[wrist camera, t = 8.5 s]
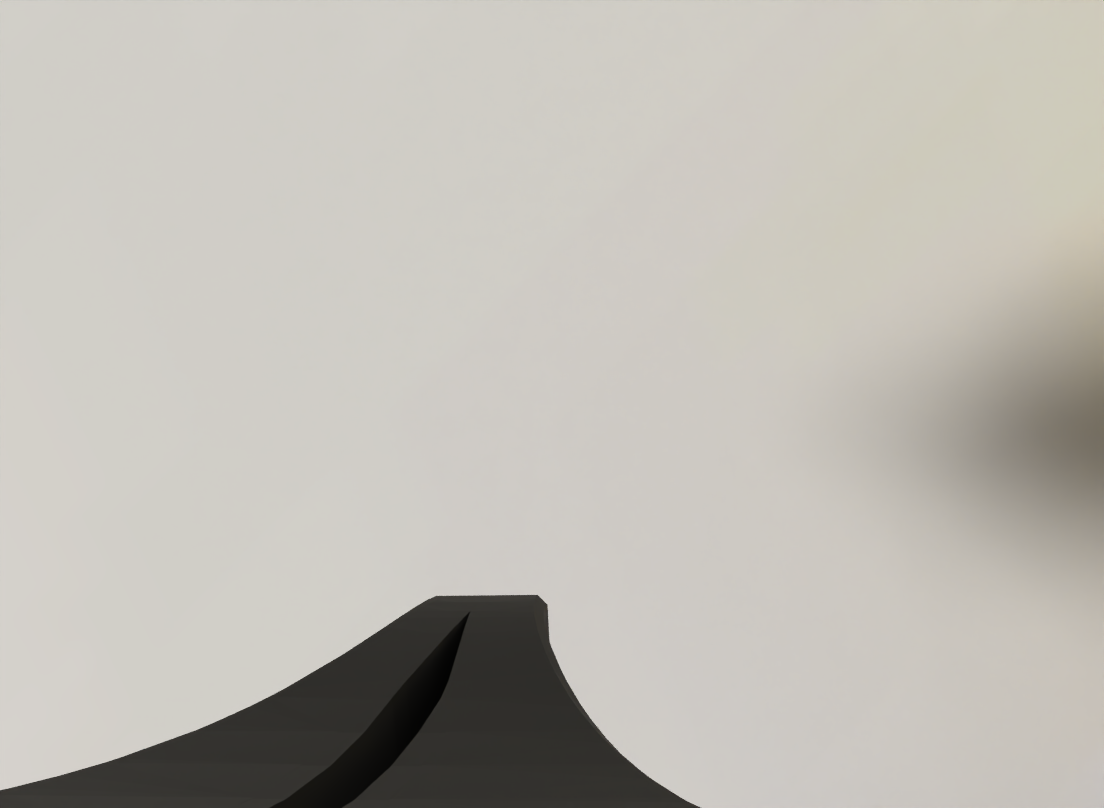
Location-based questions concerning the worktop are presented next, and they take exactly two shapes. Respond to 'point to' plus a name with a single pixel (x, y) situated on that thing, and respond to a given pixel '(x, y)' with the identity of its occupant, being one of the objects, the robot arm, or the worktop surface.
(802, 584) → the worktop surface
